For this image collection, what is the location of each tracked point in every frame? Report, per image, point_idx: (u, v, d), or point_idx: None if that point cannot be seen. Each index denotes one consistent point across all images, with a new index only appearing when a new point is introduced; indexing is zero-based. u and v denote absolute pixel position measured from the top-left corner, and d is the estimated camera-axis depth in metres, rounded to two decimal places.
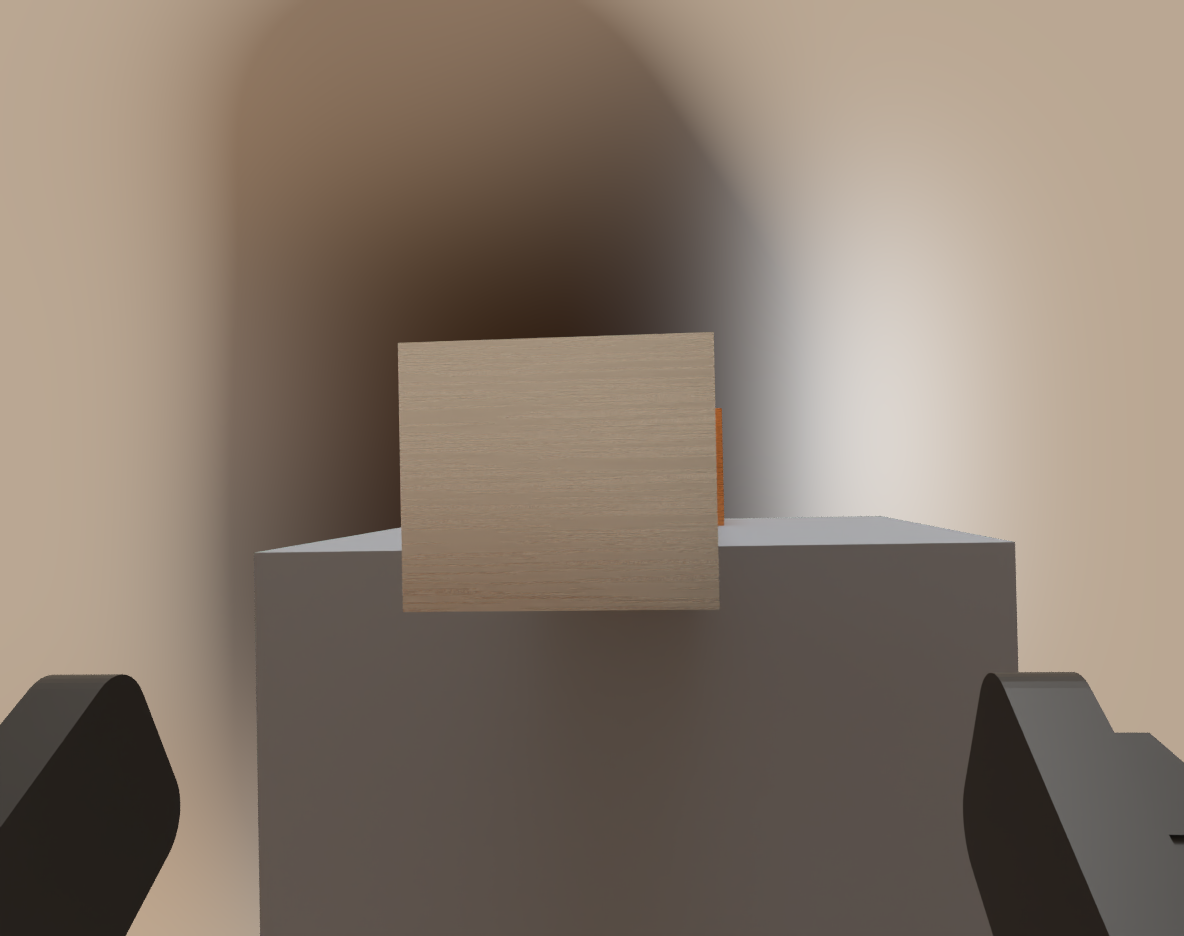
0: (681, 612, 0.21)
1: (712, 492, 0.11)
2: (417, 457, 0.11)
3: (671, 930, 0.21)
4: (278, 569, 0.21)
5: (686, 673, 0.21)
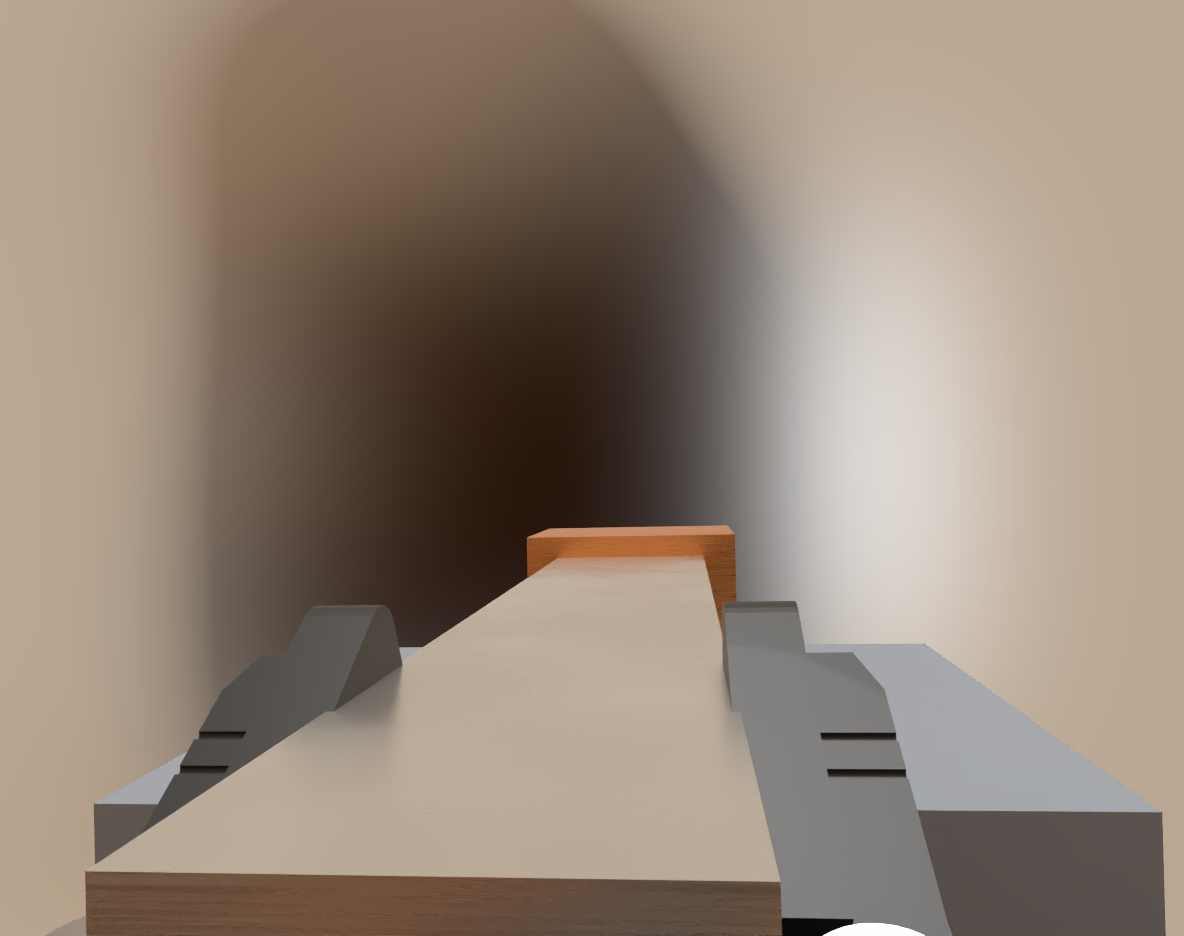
0: None
1: None
2: None
3: None
4: (127, 827, 0.15)
5: None
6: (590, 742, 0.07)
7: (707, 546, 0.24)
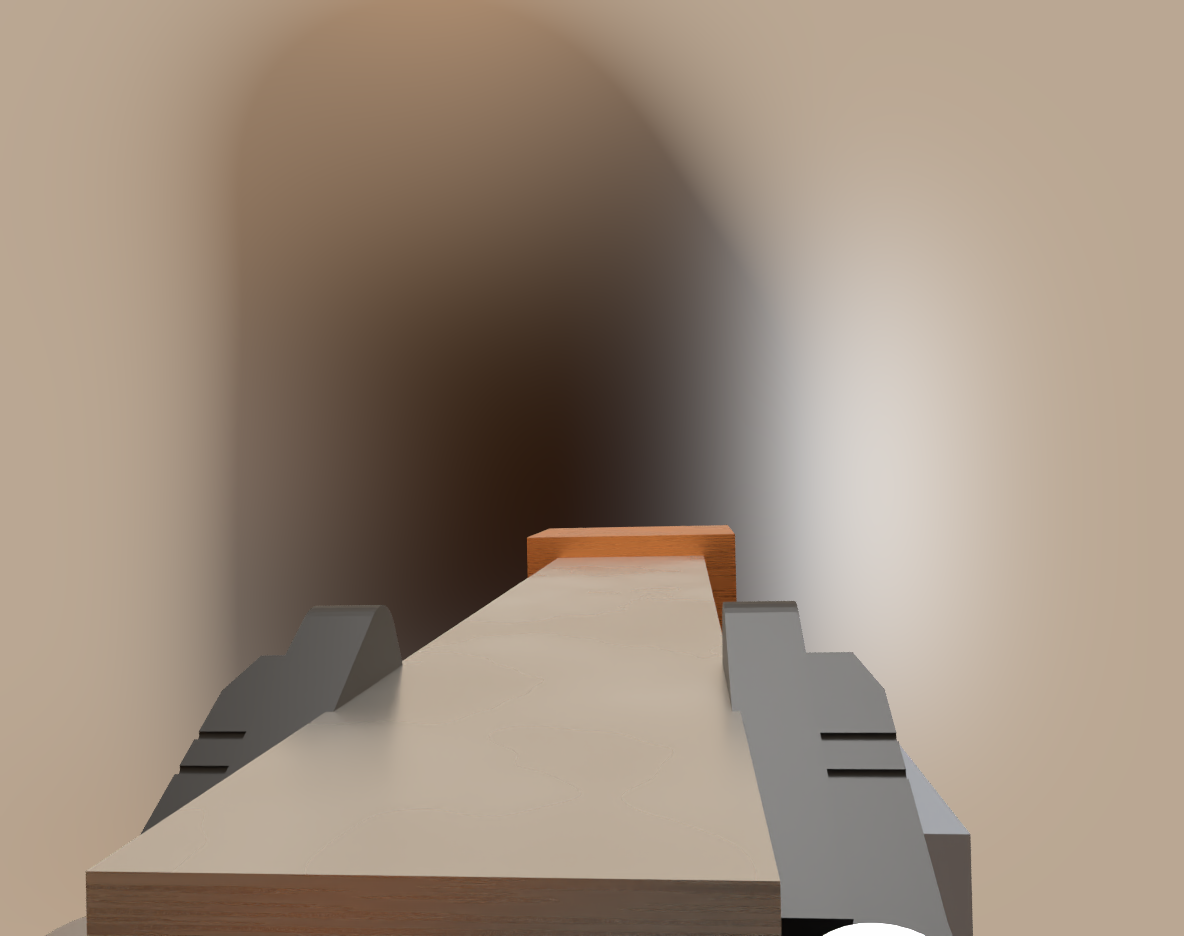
0: None
1: None
2: None
3: None
4: None
5: None
6: (590, 743, 0.07)
7: (707, 546, 0.24)
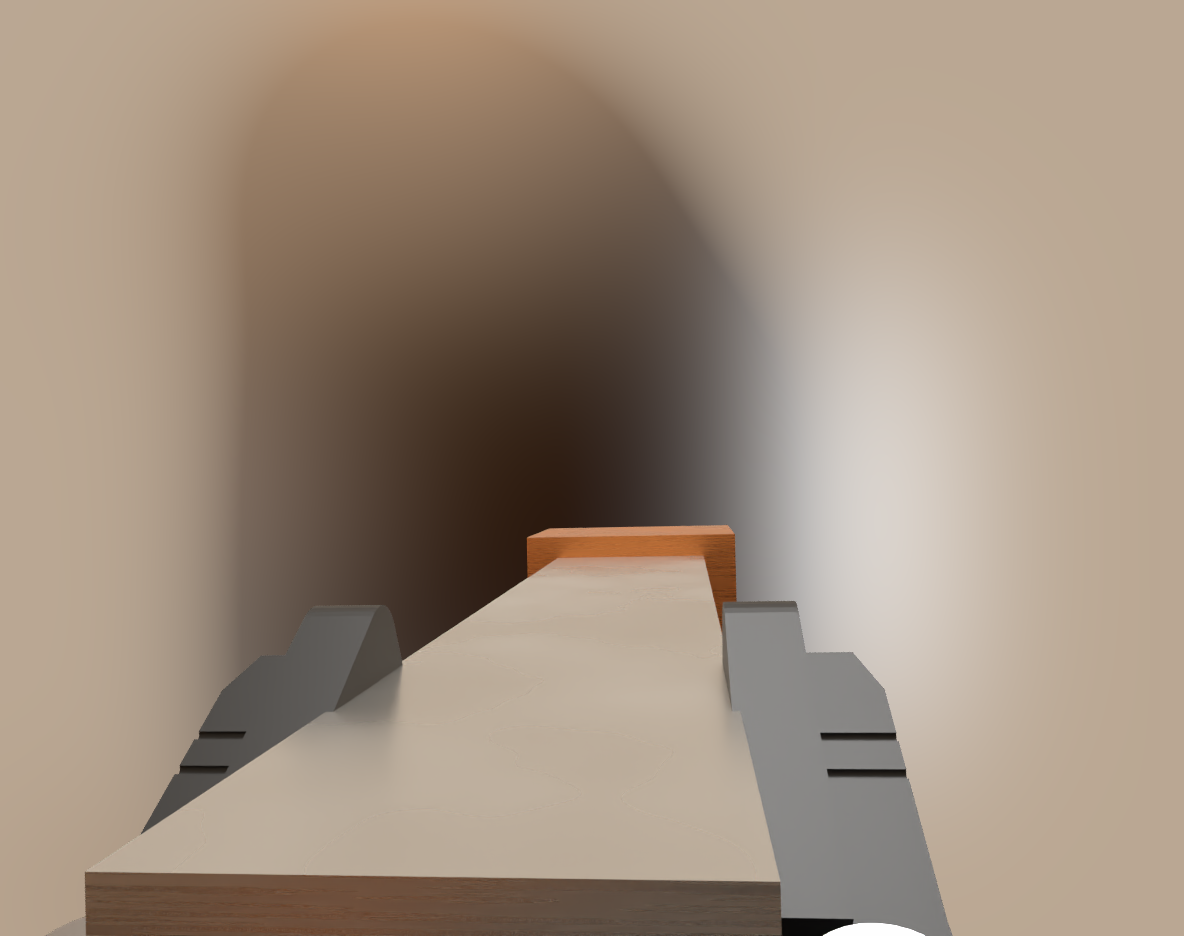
0: None
1: None
2: None
3: None
4: None
5: None
6: (590, 742, 0.07)
7: (707, 545, 0.24)
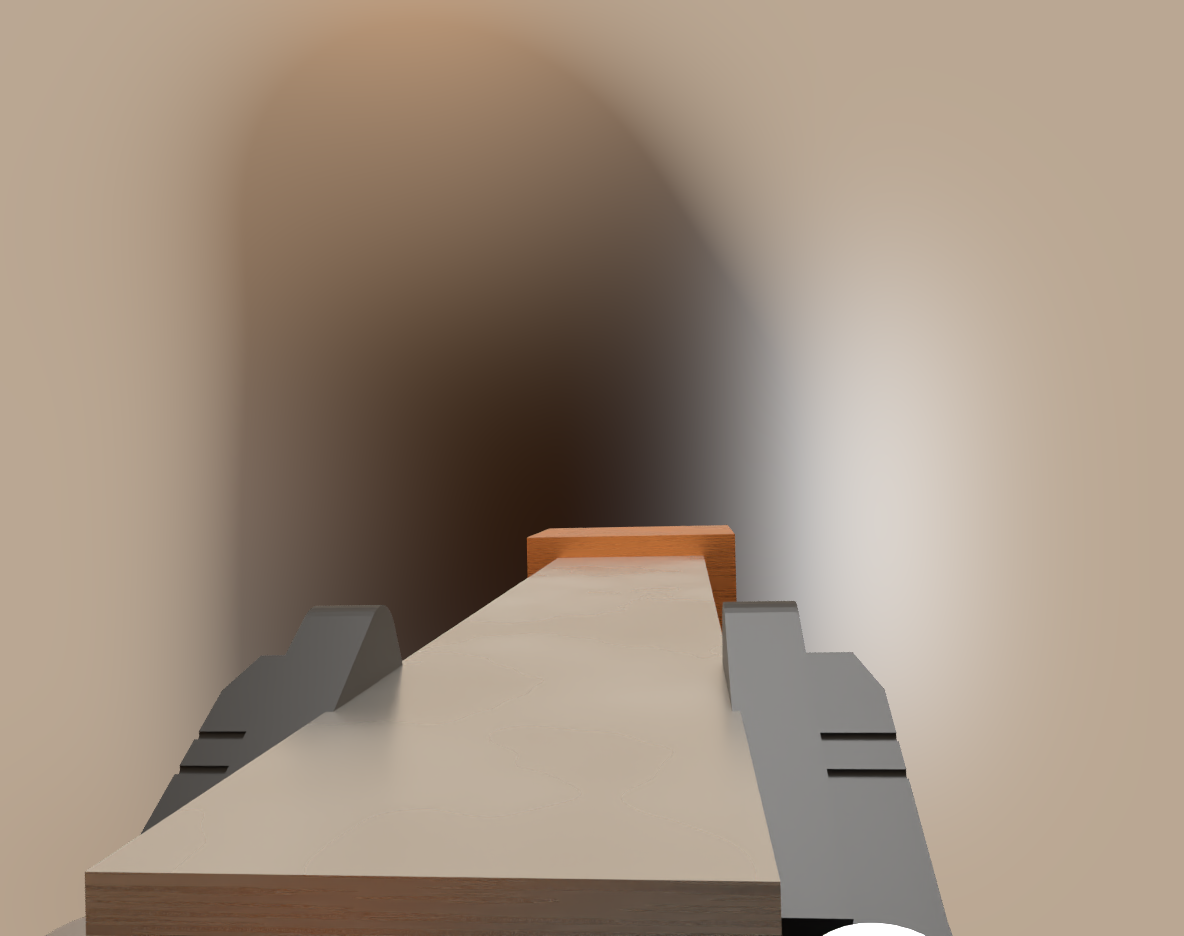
0: None
1: None
2: None
3: None
4: None
5: None
6: (590, 742, 0.07)
7: (707, 545, 0.24)
